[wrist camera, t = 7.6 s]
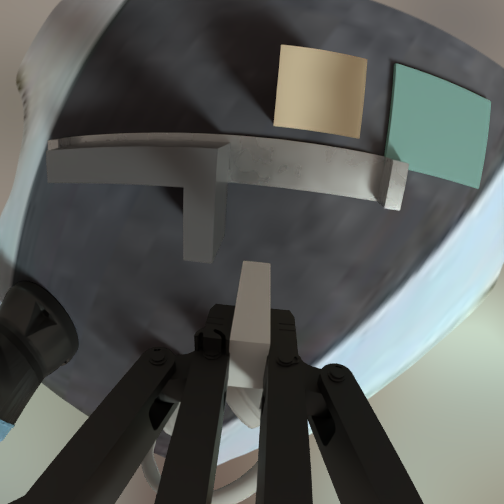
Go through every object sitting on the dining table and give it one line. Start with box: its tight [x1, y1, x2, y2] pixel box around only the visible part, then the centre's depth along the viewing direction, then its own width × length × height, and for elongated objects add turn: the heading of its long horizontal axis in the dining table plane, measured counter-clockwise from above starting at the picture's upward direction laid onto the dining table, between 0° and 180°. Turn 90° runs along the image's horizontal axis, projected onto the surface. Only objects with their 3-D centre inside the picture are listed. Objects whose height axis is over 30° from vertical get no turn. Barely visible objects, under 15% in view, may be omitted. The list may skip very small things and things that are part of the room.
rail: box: [48, 133, 409, 211], centre depth 25 cm, size 35×4×2 cm, turn 85°
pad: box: [384, 63, 491, 189], centre depth 23 cm, size 12×10×1 cm
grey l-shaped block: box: [46, 140, 231, 264], centre depth 25 cm, size 16×9×6 cm, turn 85°
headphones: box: [141, 386, 263, 504], centre depth 29 cm, size 19×9×20 cm, turn 117°
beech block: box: [274, 45, 367, 138], centre depth 19 cm, size 5×5×10 cm
